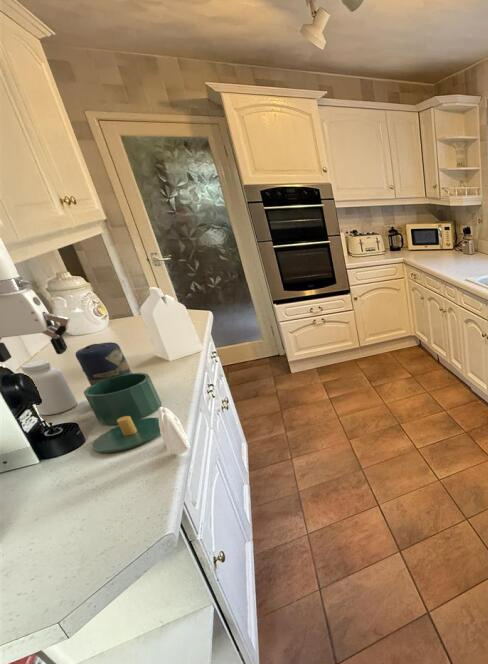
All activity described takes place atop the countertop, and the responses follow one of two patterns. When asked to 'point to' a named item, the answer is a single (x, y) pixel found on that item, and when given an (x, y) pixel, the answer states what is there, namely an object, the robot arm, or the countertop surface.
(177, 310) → the milk
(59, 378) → the pill bottle
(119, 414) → the tea tin
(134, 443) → the tin lid
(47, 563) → the countertop surface
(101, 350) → the canister
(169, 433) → the white piece
